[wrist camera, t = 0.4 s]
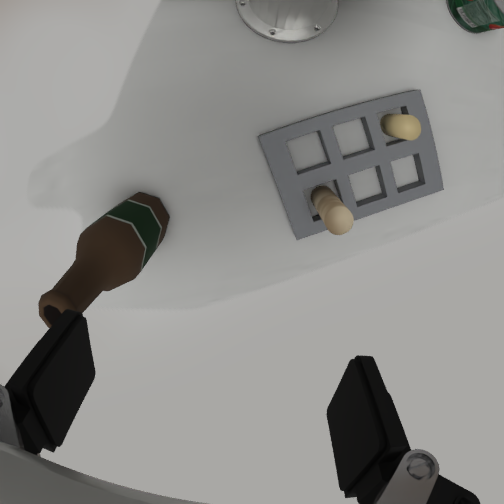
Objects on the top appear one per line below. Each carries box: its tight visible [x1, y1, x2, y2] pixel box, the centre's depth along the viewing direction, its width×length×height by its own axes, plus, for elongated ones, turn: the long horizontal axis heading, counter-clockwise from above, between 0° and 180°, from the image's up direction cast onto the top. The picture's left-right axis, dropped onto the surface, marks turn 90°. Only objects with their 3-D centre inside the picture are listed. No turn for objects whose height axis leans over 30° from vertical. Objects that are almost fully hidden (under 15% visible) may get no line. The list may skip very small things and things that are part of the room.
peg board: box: [258, 90, 444, 240], centre depth 36 cm, size 22×14×6 cm, turn 111°
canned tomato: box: [447, 0, 504, 34], centre depth 23 cm, size 8×8×11 cm
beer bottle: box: [39, 192, 169, 328], centre depth 32 cm, size 8×8×24 cm
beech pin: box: [311, 186, 354, 235], centre depth 37 cm, size 3×3×10 cm
